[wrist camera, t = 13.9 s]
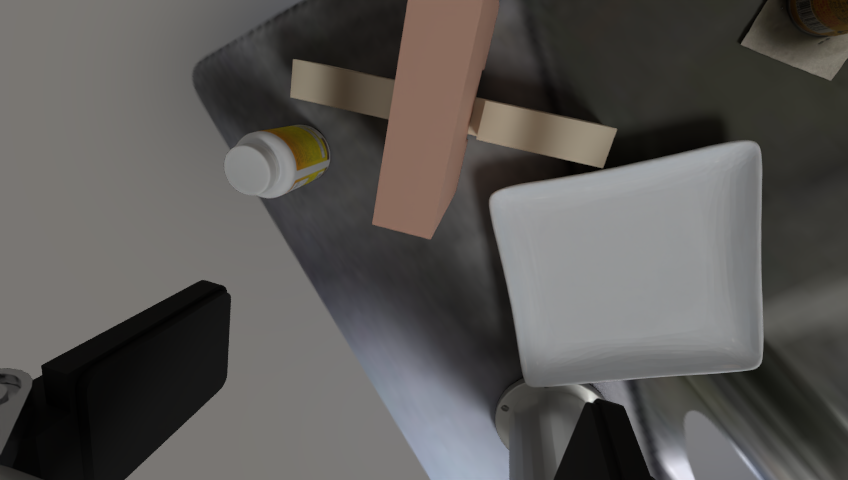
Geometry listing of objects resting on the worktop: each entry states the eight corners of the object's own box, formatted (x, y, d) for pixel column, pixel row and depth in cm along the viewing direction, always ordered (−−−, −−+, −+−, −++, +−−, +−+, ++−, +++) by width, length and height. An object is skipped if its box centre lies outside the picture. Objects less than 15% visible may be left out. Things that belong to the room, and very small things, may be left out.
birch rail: (602, 124, 35) (617, 129, 30) (590, 158, 36) (603, 168, 31) (319, 63, 38) (293, 58, 33) (316, 96, 39) (290, 97, 34)
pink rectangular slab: (455, 191, 39) (430, 239, 26) (416, 181, 40) (372, 224, 27) (499, 5, 33) (494, -50, 21) (452, -4, 34) (417, -63, 21)
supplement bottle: (289, 114, 40) (221, 121, 31) (339, 138, 40) (287, 153, 30) (274, 166, 42) (207, 187, 33) (322, 189, 42) (269, 217, 33)
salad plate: (741, 131, 34) (765, 135, 30) (745, 350, 40) (766, 373, 36) (486, 184, 39) (484, 192, 36) (524, 369, 45) (525, 390, 42)
